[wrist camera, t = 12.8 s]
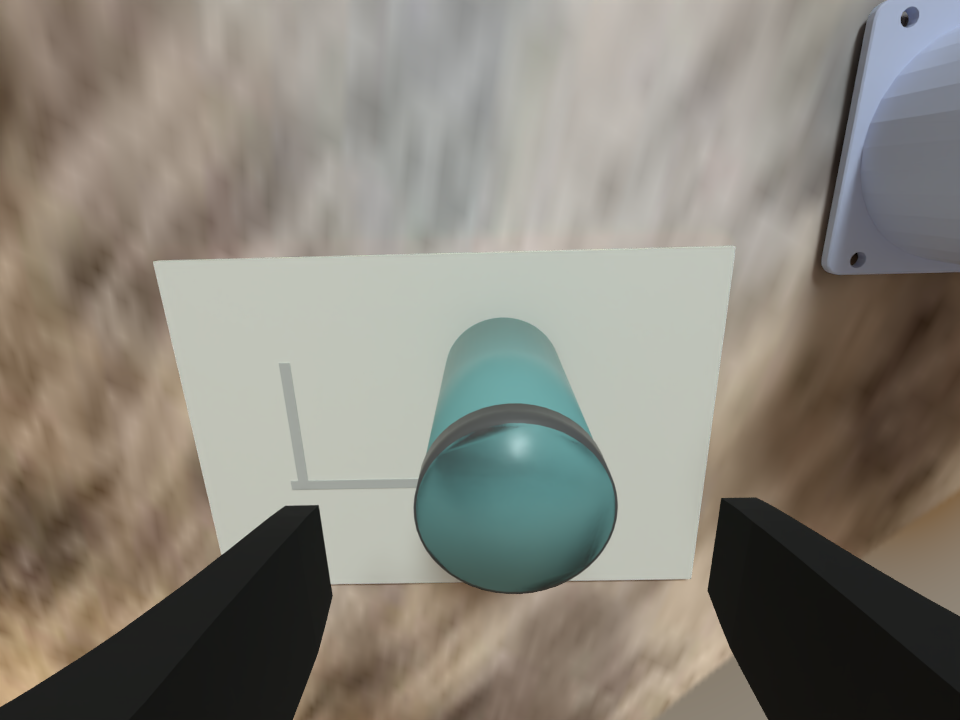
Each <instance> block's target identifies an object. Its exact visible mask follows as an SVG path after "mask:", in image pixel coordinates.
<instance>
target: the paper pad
mask: <svg viewBox="0 0 960 720" xmlns="http://www.w3.org/2000/svg"><path fill="white" fill-rule="evenodd" d="M735 249H736V247H734V246H707V247H668V248H629V249H590V250H551V251H512V252H474V253H435V254H396V255H357V256H318V257H279V258H240V259H201V260H162V261H154V262H153V264H154V268H155V272H156V277H157V281H158V285H159V290H160V294H161V298H162V302H163V307H164V311H165V315H166V319H167V324H168V328H169V332H170V337H171V341H172V345H173V349H174V354H175V358H176V362H177V367H178V371H179V375H180V379H181V384H182V388H183V392H184V397H185V401H186V405H187V409H188V414H189V418H190V422H191V426H192V431H193V435H194V439H195V444H196V448H197V452H198V456H199V461H200V465H201V469H202V474H203V478H204V482H205V486H206V491H207V495H208V499H209V504H210V508H211V512H212V516H213V521H214V525H215V529H216V533H217V538H218V542H219V546H220V551H221V555H222V554H224V553H225V552H226V551H228V550H229V549H230V548H231V547H233V546H234V545H235V544H236V543H238V542H239V541H240V540H241V539H243V538H244V537H245V536H246V535H248V534H249V533H250V532H251V531H253V530H254V529H255V528H256V527H258V526H259V525H260V524H261V523H263V522H264V521H265V520H267V519H268V518H269V517H270V516H272V515H273V514H274V513H276V512H277V511H279V510H280V509H281V508H283V507H284V506H293V505H319V510H320V517H321V523H322V530H323V536H324V543H325V549H326V556H327V563H328V569H329V576H330V582H331V584H384V583H453V582H462V581H460V580H458V579H456V578H455V577H453V576H451V575H450V574H449V573H447V572H446V571H445V570H443V569H442V568H441V567H440V566H439V565H438V564H437V563H436V562H435V561H434V560H433V559H432V558H431V556H430V555H429V554H428V552H427V551H426V549H425V548H424V546H423V544H422V542H421V540H420V538H419V535H418V532H417V530H416V525H415V521H414V509H413V507H414V496H415V492H416V487H417V483H418V478H419V474H420V470H421V466H422V463H423V460H424V458H425V456H426V453H427V448H428V443H429V439H430V434H431V430H432V425H433V420H434V416H435V411H436V406H437V402H438V397H439V393H440V388H441V383H442V379H443V374H444V370H445V365H446V361H447V357H448V354H449V351H450V349H451V347H452V346H453V344H454V342H455V341H456V340H457V338H458V337H459V336H460V335H461V334H462V333H463V332H464V331H466V330H467V329H468V328H470V327H471V326H473V325H475V324H477V323H479V322H481V321H484V320H488V319H492V318H515V319H518V320H522V321H525V322H527V323H530V324H531V325H533V326H535V327H536V328H538V329H539V330H540V331H542V332H543V333H544V334H545V335H546V336H547V337H548V339H549V340H550V341H551V343H552V344H553V346H554V348H555V350H556V352H557V355H558V357H559V360H560V362H561V364H562V367H563V369H564V371H565V374H566V376H567V379H568V381H569V383H570V386H571V388H572V390H573V393H574V395H575V397H576V400H577V402H578V405H579V407H580V409H581V412H582V414H583V416H584V419H585V421H586V423H587V426H588V428H589V431H590V433H591V435H592V438H593V440H594V441H595V443H596V444H597V446H598V448H599V449H600V451H601V453H602V455H603V457H604V460H605V462H606V464H607V467H608V469H609V471H610V474H611V476H612V479H613V481H614V484H615V488H616V493H617V501H618V511H617V520H616V524H615V528H614V531H613V533H612V536H611V538H610V540H609V542H608V544H607V545H606V547H605V549H604V550H603V552H602V553H601V554H600V555H599V557H598V558H597V559H596V560H595V561H594V562H593V563H592V564H591V565H590V566H589V567H588V568H587V569H585V570H584V571H583V572H581V573H580V574H579V575H577V576H576V577H574V578H572V579H571V580H569V581H591V580H660V579H691V576H692V568H693V561H694V554H695V546H696V539H697V531H698V524H699V517H700V509H701V502H702V494H703V487H704V479H705V472H706V465H707V457H708V450H709V442H710V435H711V427H712V420H713V413H714V405H715V398H716V390H717V383H718V376H719V368H720V361H721V353H722V346H723V338H724V331H725V324H726V316H727V309H728V301H729V294H730V286H731V279H732V272H733V264H734V257H735Z"/></svg>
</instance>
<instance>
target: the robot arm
mask: <svg viewBox="0 0 960 720" xmlns="http://www.w3.org/2000/svg"><path fill="white" fill-rule="evenodd" d="M903 11H904V12H906V13H907V14H908V17H909V21H908V23H907V26H906V27H903V26H902V24H901V15H902V13H903ZM855 253H857V254H858V259H857V261H856V263H855V264H853V265H850V259H851V257H852V256H853V255H854V254H855ZM822 267H823V269H824V270H825V271H826V272H828V273H831V274H836V275H860V274H901V273H942V272H960V0H887V1H885V2H883V3H881V4H879V5H878V6H876V7H875V8H874V9H873V10H872V12H871V13H870V14H869V17H868V20H867V23H866V28H865V33H864V38H863V44H862V49H861V54H860V59H859V65H858V70H857V75H856V80H855V86H854V91H853V96H852V102H851V107H850V112H849V117H848V123H847V128H846V133H845V138H844V144H843V149H842V154H841V159H840V165H839V170H838V175H837V180H836V186H835V191H834V196H833V201H832V207H831V212H830V217H829V223H828V228H827V233H826V238H825V244H824V249H823V254H822ZM708 593H709V595H710V598H711V601H712V603H713V606H714V609H715V611H716V614H717V617H718V619H719V622H720V624H721V627H722V629H723V632H724V634H725V637H726V639H727V641H728V644H729V646H730V649H731V651H732V653H733V654H734V656H735V658H736V660H737V662H738V664H739V666H740V668H741V670H742V672H743V674H744V675H745V677H746V679H747V681H748V683H749V685H750V687H751V689H752V690H753V692H754V694H755V696H756V698H757V700H758V702H759V704H760V705H761V707H762V709H763V711H764V713H765V715H766V717H767V718H768V720H960V616H958V615H956V614H954V613H952V612H951V611H949V610H947V609H945V608H944V607H942V606H940V605H938V604H936V603H935V602H933V601H931V600H929V599H927V598H925V597H924V596H922V595H920V594H919V593H917V592H915V591H913V590H912V589H910V588H908V587H906V586H905V585H903V584H901V583H899V582H898V581H896V580H894V579H893V578H891V577H889V576H887V575H886V574H884V573H882V572H881V571H879V570H877V569H875V568H874V567H872V566H871V565H869V564H867V563H866V562H864V561H862V560H861V559H859V558H857V557H856V556H854V555H853V554H851V553H849V552H848V551H846V550H844V549H843V548H841V547H839V546H838V545H836V544H834V543H833V542H831V541H830V540H828V539H826V538H825V537H823V536H821V535H820V534H818V533H817V532H815V531H813V530H812V529H810V528H808V527H807V526H805V525H803V524H802V523H800V522H798V521H797V520H795V519H793V518H792V517H790V516H788V515H787V514H785V513H783V512H782V511H780V510H778V509H777V508H775V507H773V506H771V505H769V504H768V503H766V502H764V501H762V500H760V499H758V498H721V504H720V511H719V518H718V524H717V531H716V538H715V544H714V551H713V558H712V565H711V571H710V578H709V585H708ZM332 596H333V595H332V589H331V582H330V576H329V569H328V563H327V556H326V549H325V543H324V536H323V530H322V523H321V517H320V510H319V505H293V506H284V507H283V508H281V509H280V510H279V511H277V512H276V513H274V514H273V515H272V516H270V517H269V518H268V519H267V520H265V521H264V522H263V523H261V524H260V525H259V526H258V527H256V528H255V529H254V530H253V531H251V532H250V533H249V534H248V535H246V536H245V537H244V538H243V539H241V540H240V541H239V542H238V543H236V544H235V545H234V546H233V547H231V548H230V549H229V550H228V551H226V552H225V553H224V554H222V555H221V556H220V557H219V558H217V559H216V560H215V561H213V562H212V563H211V564H210V565H208V566H207V567H206V568H205V569H203V570H202V571H201V572H199V573H198V574H197V575H196V576H194V577H193V578H192V579H190V580H189V581H188V582H187V583H185V584H184V585H183V586H181V587H180V588H178V589H177V590H176V591H174V592H173V593H172V594H170V595H169V596H167V597H166V598H165V599H163V600H162V601H161V602H159V603H158V604H156V605H155V606H154V607H152V608H151V609H150V610H148V611H147V612H145V613H144V614H143V615H141V616H140V617H139V618H137V619H136V620H134V621H133V622H132V623H130V624H129V625H128V626H126V627H125V628H123V629H122V630H121V631H119V632H118V633H116V634H115V635H113V636H112V637H110V638H109V639H108V640H106V641H105V642H103V643H102V644H100V645H99V646H97V647H96V648H94V649H93V650H91V651H90V652H88V653H87V654H85V655H84V656H82V657H81V658H79V659H78V660H76V661H74V662H73V663H71V664H70V665H68V666H66V667H65V668H63V669H62V670H60V671H59V672H57V673H55V674H54V675H52V676H51V677H49V678H47V679H46V680H44V681H43V682H41V683H40V684H38V685H36V686H35V687H33V688H32V689H30V690H28V691H27V692H25V693H23V694H22V695H20V696H18V697H17V698H15V699H14V700H12V701H10V702H8V703H7V704H5V705H3V706H1V707H0V720H293V718H294V715H295V712H296V710H297V707H298V705H299V702H300V699H301V697H302V694H303V691H304V689H305V686H306V684H307V681H308V678H309V676H310V673H311V670H312V668H313V665H314V662H315V660H316V657H317V654H318V651H319V647H320V643H321V640H322V636H323V632H324V629H325V625H326V621H327V616H328V612H329V608H330V604H331V600H332Z"/></svg>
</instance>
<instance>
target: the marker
mask: <svg viewBox="0 0 960 720" xmlns="http://www.w3.org/2000/svg"><path fill="white" fill-rule="evenodd" d="M413 509H414V521H415V525H416V530H417V532H418V535H419V538H420V540H421V542H422V544H423V546H424V548H425V549H426V551H427V552H428V554H429V555H430V556H431V558H432V559H433V560H434V561H435V562H436V563H437V564H438V565H439V566H440V567H441V568H442V569H443V570H445V571H446V572H447V573H449V574H450V575H451V576H453V577H455V578H456V579H458V580H460V581H462V582H464V583H466V584H468V585H470V586H473V587H476V588H479V589H482V590H486V591H490V592H495V593H505V594H523V593H533V592H538V591H542V590H546V589H549V588H552V587H556V586H558V585H560V584H563V583H565V582H567V581H569V580H571V579H572V578H574V577H576V576H577V575H579V574H580V573H581V572H583V571H584V570H585V569H587V568H588V567H589V566H590V565H591V564H592V563H593V562H594V561H595V560H596V559H597V558H598V557H599V555H600V554H601V553H602V552H603V550H604V549H605V547H606V545H607V544H608V542H609V540H610V538H611V536H612V533H613V531H614V528H615V524H616V520H617V511H618V501H617V493H616V488H615V484H614V481H613V479H612V476H611V474H610V471H609V469H608V467H607V464H606V462H605V460H604V457H603V455H602V453H601V451H600V449H599V448H598V446H597V444H596V443H595V441H594V440H593V438H592V435H591V433H590V431H589V428H588V426H587V423H586V421H585V419H584V416H583V414H582V412H581V409H580V407H579V405H578V402H577V400H576V397H575V395H574V393H573V390H572V388H571V386H570V383H569V381H568V379H567V376H566V374H565V371H564V369H563V367H562V364H561V362H560V360H559V357H558V355H557V352H556V350H555V348H554V346H553V344H552V343H551V341H550V340H549V339H548V337H547V336H546V335H545V334H544V333H543V332H542V331H540V330H539V329H538V328H536V327H535V326H533V325H531V324H530V323H527V322H525V321H522V320H518V319H515V318H492V319H488V320H484V321H481V322H479V323H477V324H475V325H473V326H471V327H470V328H468V329H467V330H466V331H464V332H463V333H462V334H461V335H460V336H459V337H458V338H457V340H456V341H455V342H454V344H453V346H452V347H451V349H450V351H449V354H448V357H447V361H446V365H445V370H444V374H443V379H442V383H441V388H440V393H439V397H438V402H437V406H436V411H435V416H434V420H433V425H432V430H431V434H430V439H429V443H428V448H427V453H426V456H425V458H424V460H423V463H422V466H421V470H420V474H419V478H418V483H417V487H416V492H415V496H414V507H413Z"/></svg>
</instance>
